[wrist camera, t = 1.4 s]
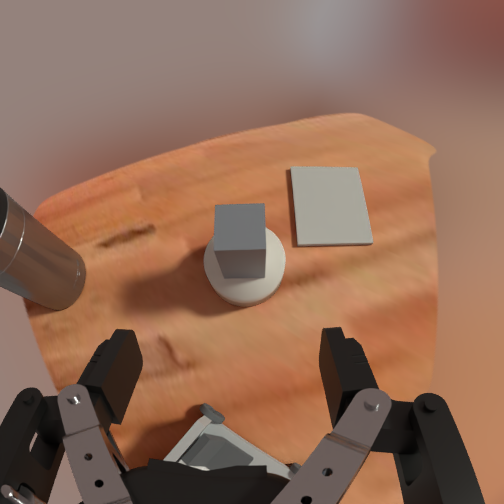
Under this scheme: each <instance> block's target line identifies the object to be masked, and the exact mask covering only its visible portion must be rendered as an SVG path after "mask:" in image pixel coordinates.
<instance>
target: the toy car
mask: <svg viewBox="0 0 504 504" xmlns="http://www.w3.org/2000/svg"><path fill="white" fill-rule="evenodd" d="M200 411H201V412H202V414H203V415H204V416H203V417H201V418H200V419H198V420H197V421H196V422H195V424H194V425H193V426H192V427H191V428H190V429H189V431H188V432H187V433H186V434H185V435H184V437H183V438H182V439H181V440H180V441H179V442H178V444H177V445H176V446H175V447H174V448H173V449H172V451H171V452H170V453H169V454H168V455H167V456H166V457H165V459H164V461H173V462H178V463H181V464H184V465H188V466H191V467H194V468H197V469H201V470H206V471H207V470H214V469H220V468H226V467H231V466H236V465H267V472H268V473H274V474H277V475H280V476H283V477H285V478H288V479H290V480H291V479H292V478H293V477H294V475H295V474H296V473H297V472H298V470H299V469H300V468H301V467H302V466H300V465H299V464H297V463H293V464H292V465H291V466H290V468H289V467H288V466H286V465H284V464H283V463H281V462H279V461H278V460H276V459H274V458H273V457H271V456H269V455H268V454H266V453H265V452H263V451H262V450H260V449H258V448H257V447H255V446H254V445H252V444H251V443H249V442H248V441H246V440H245V439H243V438H242V437H240V436H239V435H237V434H236V433H234V432H233V431H232V430H230V429H229V428H227V427H226V426H225V425H223V424H222V422H223V421H224V420H225V417H224V416H223V415H222V414H221V413H219V412H217V411H215V410H214V409H213V408H212V407H211V406H210V405H208V404H206V403H204V404H202V406H201V407H200Z"/></svg>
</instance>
